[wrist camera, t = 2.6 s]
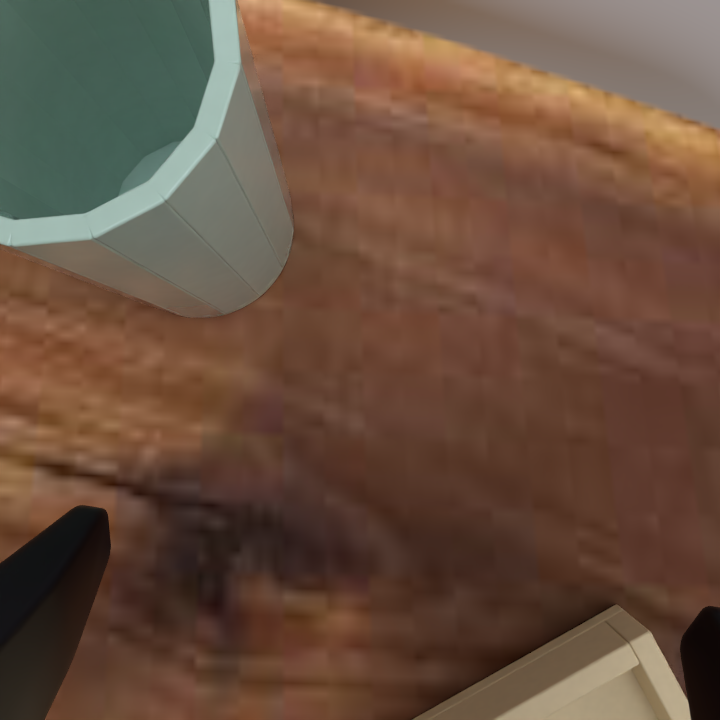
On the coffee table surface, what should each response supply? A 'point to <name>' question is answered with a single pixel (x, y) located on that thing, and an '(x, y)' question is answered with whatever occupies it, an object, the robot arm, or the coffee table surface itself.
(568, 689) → the tray
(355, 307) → the coffee table surface
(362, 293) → the coffee table surface
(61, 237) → the cup
